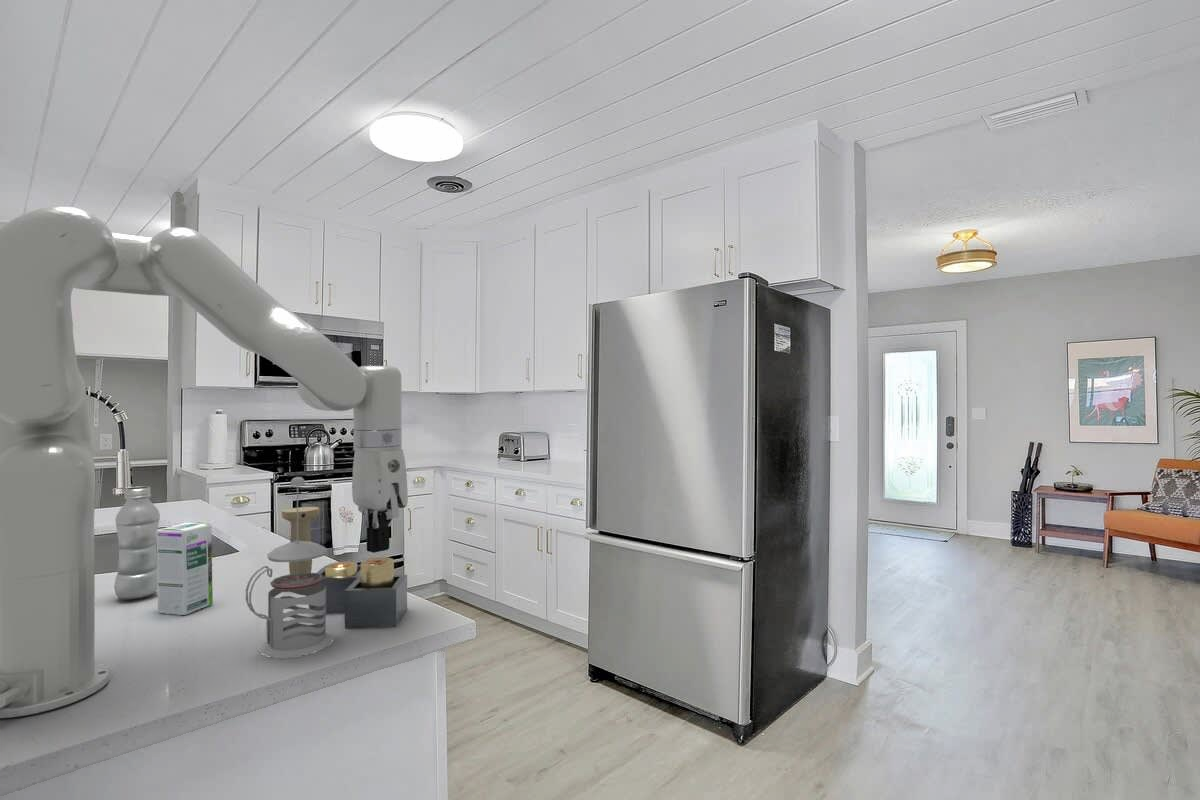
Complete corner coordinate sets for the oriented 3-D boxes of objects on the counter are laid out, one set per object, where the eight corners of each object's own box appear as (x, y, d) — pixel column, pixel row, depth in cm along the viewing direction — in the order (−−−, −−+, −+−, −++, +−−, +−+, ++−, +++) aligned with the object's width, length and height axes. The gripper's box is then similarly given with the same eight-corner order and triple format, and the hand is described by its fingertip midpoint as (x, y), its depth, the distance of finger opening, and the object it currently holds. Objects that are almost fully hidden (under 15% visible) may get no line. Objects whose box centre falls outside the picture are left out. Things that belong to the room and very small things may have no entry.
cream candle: (351, 601, 106) (351, 567, 106) (320, 601, 105) (320, 568, 105) (360, 591, 111) (360, 559, 111) (330, 592, 111) (331, 560, 111)
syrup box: (185, 616, 102) (185, 529, 102) (155, 613, 104) (155, 528, 103) (213, 605, 108) (213, 522, 108) (184, 602, 109) (185, 521, 109)
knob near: (389, 599, 100) (389, 563, 100) (356, 600, 99) (356, 564, 99) (396, 589, 105) (397, 555, 105) (365, 589, 104) (365, 556, 104)
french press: (343, 644, 91) (344, 477, 91) (257, 669, 83) (257, 484, 83) (319, 626, 98) (319, 471, 98) (237, 647, 90) (237, 477, 90)
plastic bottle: (105, 601, 109) (104, 489, 109) (143, 590, 116) (143, 484, 116) (131, 605, 107) (131, 491, 107) (168, 593, 114) (168, 486, 114)
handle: (279, 587, 118) (279, 509, 118) (315, 581, 122) (315, 505, 122) (284, 593, 114) (284, 513, 114) (321, 587, 118) (321, 509, 118)
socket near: (396, 626, 98) (396, 589, 98) (344, 628, 98) (344, 590, 98) (407, 609, 106) (407, 574, 106) (359, 610, 106) (359, 575, 106)
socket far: (357, 612, 105) (357, 577, 105) (309, 613, 104) (309, 578, 104) (370, 597, 113) (370, 564, 113) (325, 598, 112) (325, 565, 112)
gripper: (423, 441, 100) (423, 553, 100) (374, 436, 109) (374, 539, 110) (381, 444, 94) (382, 563, 94) (333, 439, 104) (333, 547, 104)
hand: (378, 550), depth 102 cm, fingers closed
